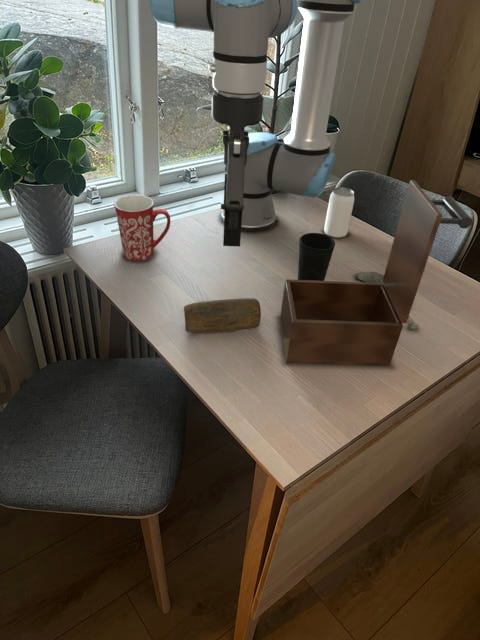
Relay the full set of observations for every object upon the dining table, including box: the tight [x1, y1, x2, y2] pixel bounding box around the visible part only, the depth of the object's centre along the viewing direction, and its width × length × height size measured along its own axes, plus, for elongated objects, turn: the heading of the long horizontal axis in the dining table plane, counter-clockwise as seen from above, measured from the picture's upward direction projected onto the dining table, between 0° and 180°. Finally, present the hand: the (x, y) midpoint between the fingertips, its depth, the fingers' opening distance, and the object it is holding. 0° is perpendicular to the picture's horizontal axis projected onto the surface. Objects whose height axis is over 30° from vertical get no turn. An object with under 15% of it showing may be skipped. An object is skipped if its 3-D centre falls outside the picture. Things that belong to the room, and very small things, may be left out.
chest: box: [279, 278, 404, 367], centre depth 91 cm, size 20×14×10 cm
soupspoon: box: [356, 271, 419, 330], centre depth 106 cm, size 22×3×7 cm
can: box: [323, 186, 355, 239], centre depth 128 cm, size 6×6×12 cm
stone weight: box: [183, 297, 262, 334], centre depth 94 cm, size 15×7×7 cm, turn 103°
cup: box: [297, 232, 336, 281], centre depth 106 cm, size 8×8×12 cm
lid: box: [383, 179, 473, 324], centre depth 82 cm, size 21×14×7 cm
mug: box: [113, 194, 171, 262], centre depth 113 cm, size 13×9×14 cm
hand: (231, 226), depth 82 cm, fingers open, 13 cm apart
